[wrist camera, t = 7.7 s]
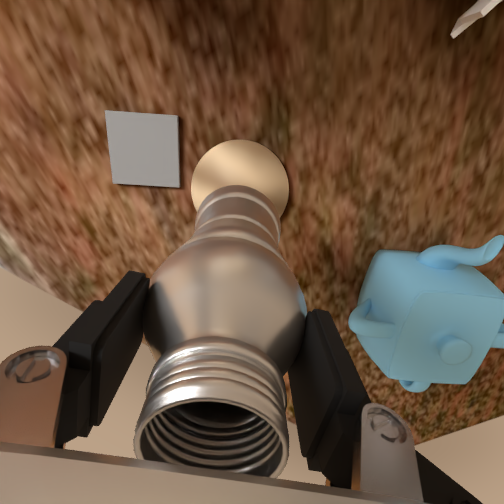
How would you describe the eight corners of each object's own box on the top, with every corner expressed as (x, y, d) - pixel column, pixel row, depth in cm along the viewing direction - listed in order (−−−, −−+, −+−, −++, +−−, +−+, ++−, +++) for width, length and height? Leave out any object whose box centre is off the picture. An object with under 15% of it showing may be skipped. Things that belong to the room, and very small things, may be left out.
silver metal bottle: (248, 266, 27) (247, 556, 9) (185, 224, 26) (20, 470, 7) (293, 211, 25) (416, 434, 7) (228, 162, 24) (153, 277, 5)
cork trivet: (201, 127, 34) (200, 127, 33) (300, 153, 35) (301, 154, 35) (185, 224, 38) (184, 226, 38) (273, 244, 40) (274, 246, 39)
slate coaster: (107, 110, 33) (104, 110, 33) (178, 116, 34) (177, 115, 33) (115, 182, 36) (112, 183, 36) (180, 186, 37) (179, 187, 36)
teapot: (469, 304, 44) (557, 373, 31) (368, 352, 47) (412, 432, 34) (426, 202, 38) (515, 237, 25) (314, 265, 41) (344, 324, 29)
